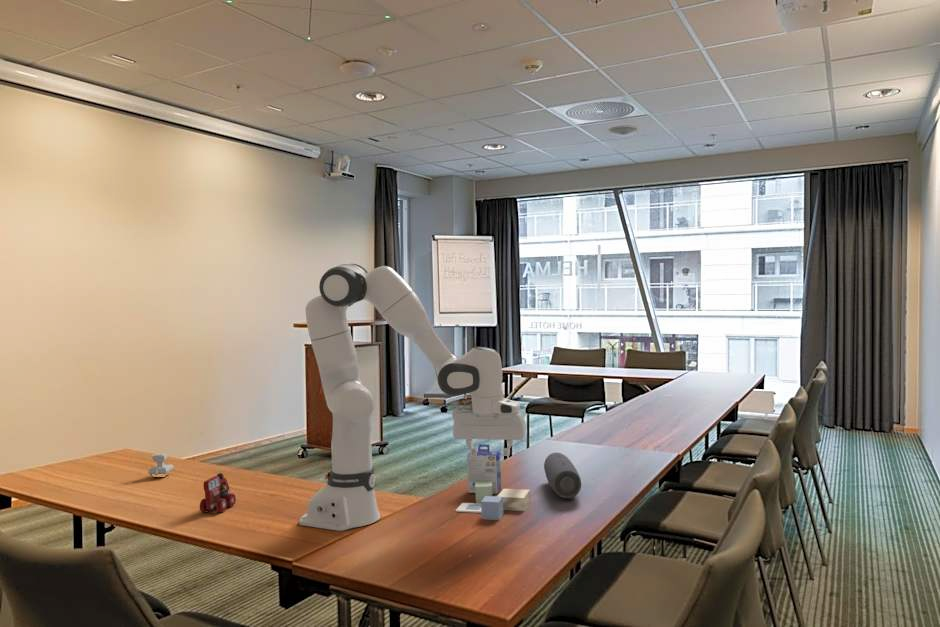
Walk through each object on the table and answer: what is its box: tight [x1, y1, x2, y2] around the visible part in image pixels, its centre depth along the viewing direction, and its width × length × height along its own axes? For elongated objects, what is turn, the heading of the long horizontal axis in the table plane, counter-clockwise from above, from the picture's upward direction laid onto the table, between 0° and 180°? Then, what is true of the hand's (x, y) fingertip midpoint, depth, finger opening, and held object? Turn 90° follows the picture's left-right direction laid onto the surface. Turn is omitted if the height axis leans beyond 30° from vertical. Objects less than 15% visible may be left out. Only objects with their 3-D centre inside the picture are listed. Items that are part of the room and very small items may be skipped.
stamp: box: [147, 452, 175, 476], centre depth 240 cm, size 9×7×8 cm
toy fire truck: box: [199, 472, 237, 513], centre depth 197 cm, size 7×12×10 cm, turn 172°
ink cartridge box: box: [466, 444, 502, 495], centre depth 203 cm, size 10×6×14 cm, turn 75°
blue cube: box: [480, 495, 505, 521], centre depth 179 cm, size 5×5×5 cm
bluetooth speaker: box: [543, 452, 582, 499], centre depth 200 cm, size 23×9×10 cm, turn 0°
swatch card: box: [455, 502, 482, 514], centre depth 187 cm, size 9×7×1 cm
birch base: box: [497, 488, 532, 512], centre depth 188 cm, size 8×8×4 cm
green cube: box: [474, 481, 493, 503], centre depth 194 cm, size 5×5×5 cm
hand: (490, 455), depth 179 cm, fingers open, 8 cm apart
